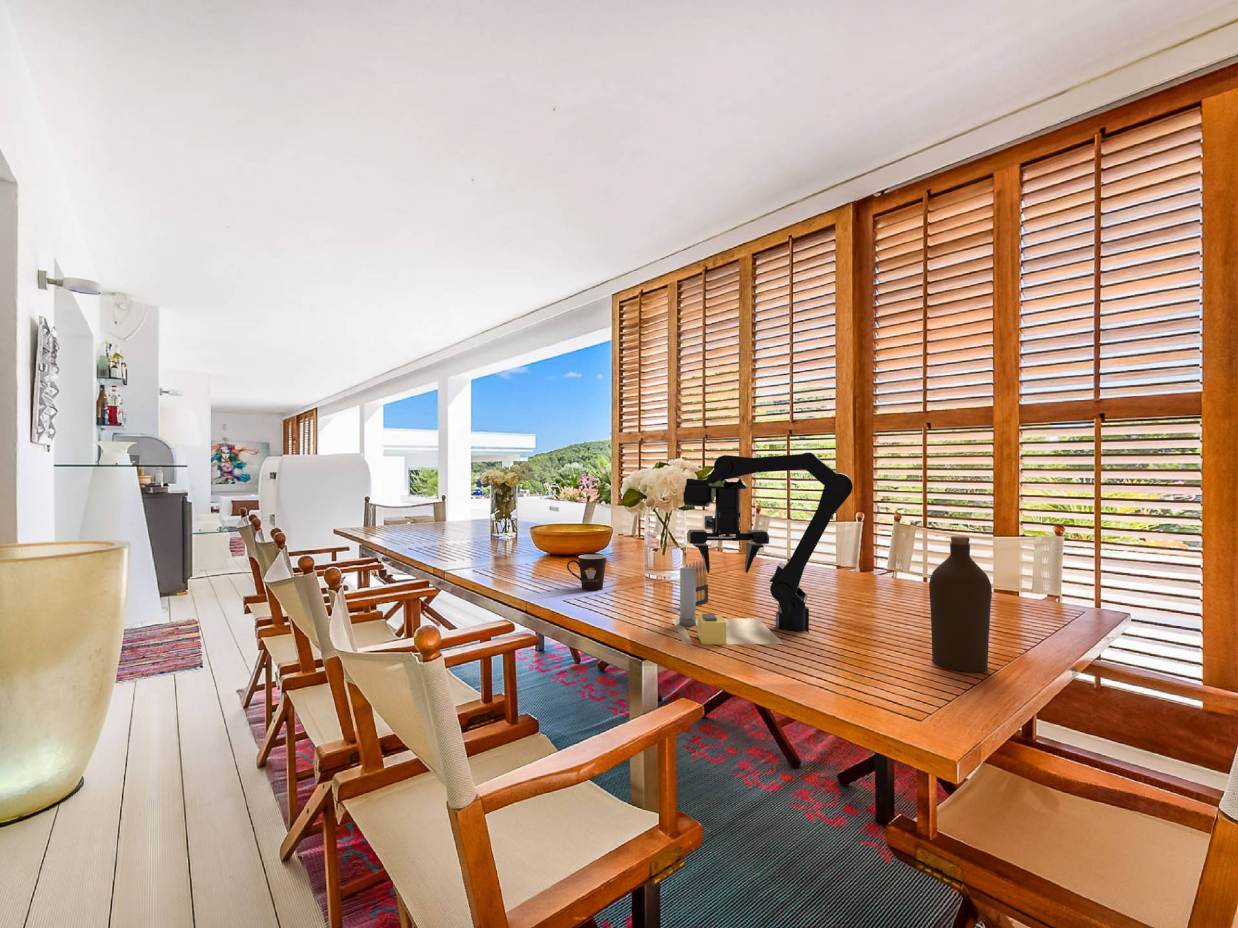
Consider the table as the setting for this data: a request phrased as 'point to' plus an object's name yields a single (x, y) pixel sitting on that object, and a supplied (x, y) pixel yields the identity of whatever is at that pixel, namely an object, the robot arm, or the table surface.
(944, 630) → the olive oil
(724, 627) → the block
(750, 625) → the panel
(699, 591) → the ammunition clip
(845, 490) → the robot arm
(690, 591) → the light grey cylinder
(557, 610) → the table surface
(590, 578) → the coffee mug
